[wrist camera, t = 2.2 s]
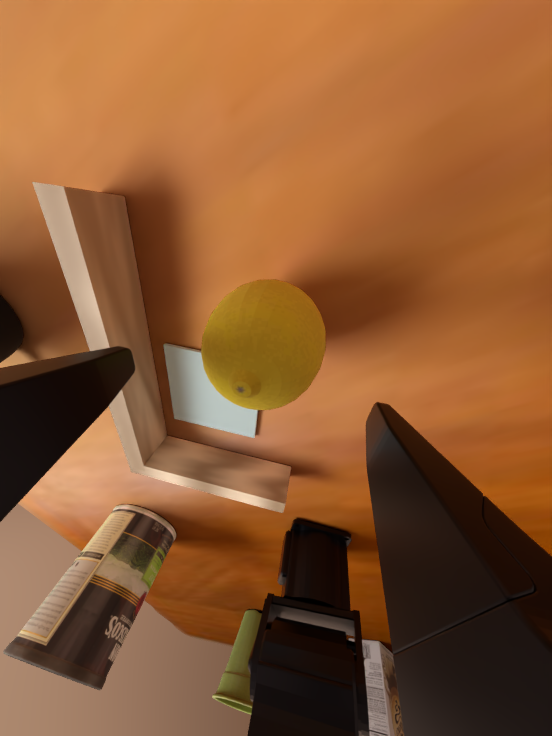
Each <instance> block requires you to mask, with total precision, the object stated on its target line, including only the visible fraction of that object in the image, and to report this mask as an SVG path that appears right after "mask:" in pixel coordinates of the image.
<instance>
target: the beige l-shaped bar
mask: <svg viewBox="0 0 552 736" xmlns="http://www.w3.org/2000/svg"><path fill="white" fill-rule="evenodd" d="M32 183H33V185H34V188H35V191H36V194H37V197H38V200H39V203H40V206H41V209H42V212H43V215H44V218H45V221H46V224H47V226H48V229H49V232H50V235H51V238H52V241H53V244H54V247H55V250H56V253H57V256H58V259H59V262H60V265H61V267H62V270H63V273H64V276H65V279H66V282H67V285H68V288H69V291H70V294H71V297H72V300H73V303H74V306H75V308H76V311H77V314H78V317H79V320H80V323H81V326H82V329H83V332H84V335H85V338H86V341H87V344H88V347H89V349H90V351H94V350H99V349H105V348H110V347H115V346H121V347H126V348H129V349H130V350H131V351H132V354H133V358H134V363H135V372H134V374H133V375H132V376H131V378H130V379H129V380H128V382H127V383H126V384H125V386H124V387H123V388H122V390H121V391H120V392H119V393H118V395H117V396H116V397H115V399H114V400H113V401H112V402H111V404H110V405H109V408H110V411H111V414H112V417H113V420H114V423H115V426H116V429H117V432H118V434H119V437H120V440H121V443H122V446H123V449H124V452H125V455H126V458H127V461H128V464H129V467H130V470H131V472H133V473H136V474H140V475H144V476H148V477H151V478H155V479H159V480H162V481H166V482H170V483H173V484H177V485H181V486H184V487H188V488H192V489H195V490H199V491H203V492H207V493H210V494H214V495H218V496H221V497H225V498H229V499H232V500H236V501H240V502H243V503H247V504H251V505H255V506H258V507H262V508H266V509H269V510H273V511H277V512H280V513H283V511H284V507H285V504H286V497H287V491H288V484H289V478H290V471H291V466H287V465H283V464H279V463H275V462H271V461H267V460H263V459H259V458H255V457H251V456H247V455H243V454H239V453H235V452H231V451H227V450H223V449H219V448H215V447H211V446H207V445H203V444H199V443H195V442H191V441H187V440H183V439H179V438H175V437H171V436H167V431H166V425H165V420H164V414H163V409H162V403H161V397H160V392H159V386H158V381H157V375H156V369H155V364H154V358H153V353H152V347H151V342H150V336H149V330H148V325H147V319H146V314H145V308H144V302H143V297H142V291H141V286H140V280H139V274H138V269H137V263H136V258H135V252H134V246H133V241H132V235H131V230H130V224H129V219H128V213H127V207H126V202H125V196H121V195H115V194H108V193H102V192H95V191H89V190H82V189H76V188H70V187H63V186H56V185H50V184H43V183H37V182H32Z"/></svg>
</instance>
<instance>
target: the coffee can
mask: <svg viewBox="0 0 552 736" xmlns="http://www.w3.org/2000/svg"><path fill="white" fill-rule="evenodd" d="M175 539H176V532H175V529H174V528H173V526H172V525H171V524H170V523H169V522H167V521H166V520H165V519H164V518H162V517H161V516H159V515H157V514H156V513H154V512H152V511H150V510H148V509H145V508H142V507H139V506H135V505H129V504H123V505H118V506H116V507H115V508H114V509H113V511H112V513H111V514H110V515H109V517H108V518H107V519H106V521H105V522H104V523H103V525H102V526H101V527H100V528H99V530H98V531H97V532H96V534H95V535H94V536H93V538H92V539H91V540H90V542H89V543H88V544H87V545H86V547H85V548H84V549H83V551H82V552H81V553H80V555H79V556H78V557H77V558H76V560H75V561H74V562H73V564H72V565H71V566H70V568H69V569H68V570H67V572H66V573H65V574H64V575H63V577H62V578H61V579H60V581H59V582H58V583H57V585H56V586H55V587H54V588H53V590H52V591H51V592H50V594H49V595H48V596H47V598H46V599H45V600H44V602H43V603H42V604H41V605H40V607H39V608H38V609H37V611H36V612H35V613H34V614H33V616H32V617H31V618H30V620H29V621H28V622H27V624H26V625H25V627H24V628H23V629H22V630H21V631H20V633H19V634H18V635H17V637H16V638H15V639H14V640H13V641H12V642H11V643H10V644H9V645H8V646H7V647H6V649H5V650H4V651H3V652H4V654H6V655H8V656H10V657H13V658H15V659H18V660H21V661H23V662H26V663H28V664H31V665H33V666H36V667H39V668H41V669H44V670H47V671H49V672H52V673H54V674H57V675H60V676H62V677H65V678H67V679H71V680H73V681H75V682H78V683H81V684H84V685H86V686H90V687H92V688H95V689H98V690H100V689H102V687H103V685H104V683H105V680H106V676H107V674H108V672H109V670H110V668H111V666H112V664H113V662H114V660H115V658H116V656H117V654H118V652H119V650H120V648H121V646H122V644H123V642H124V640H125V638H126V636H127V634H128V632H129V630H130V628H131V626H132V624H133V622H134V620H135V618H136V616H137V614H138V612H139V610H140V608H141V606H142V604H143V601H144V600H145V598H146V596H147V594H148V591H149V589H150V587H151V585H152V583H153V581H154V579H155V577H156V575H157V573H158V571H159V569H160V567H161V565H162V563H163V561H164V559H165V557H166V555H167V553H168V551H169V549H170V547H171V545H172V543H173V541H174V540H175Z"/></svg>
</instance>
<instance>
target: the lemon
mask: <svg viewBox="0 0 552 736" xmlns="http://www.w3.org/2000/svg"><path fill="white" fill-rule="evenodd" d="M325 349H326V332H325V326H324V323H323V320H322V316H321V313H320V312H319V310H318V308H317V307H316V305H315V303H314V302H313V300H312V299H311V298H310V297H309V296H308V295H307V294H306V293H305V292H303V291H302V290H301V289H299V288H297V287H296V286H294V285H292V284H290V283H287V282H283V281H279V280H257V281H253V282H250V283H247V284H244V285H242V286H240V287H238V288H237V289H235V290H234V291H232V292H231V293H229V294H228V295H227V296H225V297H224V299H223V300H222V301H221V302H220V303H219V305H218V306H217V307H216V308H215V310H214V311H213V312H212V314H211V316H210V318H209V320H208V323H207V325H206V328H205V330H204V333H203V337H202V348H201V355H202V361H203V366H204V370H205V372H206V374H207V377H208V379H209V381H210V382H211V383H212V385H213V386H214V387H215V389H216V390H217V391H218V392H219V393H220V394H221V395H222V396H223V397H224V398H225V399H227V400H229V401H230V402H232V403H234V404H236V405H238V406H241V407H243V408H247V409H253V410H271V409H275V408H279V407H282V406H284V405H286V404H288V403H290V402H292V401H294V400H296V399H297V398H298V397H299V396H300V395H301V394H302V393H303V392H305V391H306V390H307V389H308V387H309V386H310V385H311V383H312V381H313V380H314V378H315V376H316V375H317V373H318V371H319V369H320V367H321V364H322V360H323V357H324V353H325Z"/></svg>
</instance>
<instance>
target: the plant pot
mask: <svg viewBox="0 0 552 736" xmlns="http://www.w3.org/2000/svg"><path fill="white" fill-rule="evenodd" d="M261 615H262V613H259V612H258V611H256V610H253V609H252V610H248V611H246V612H245V614H244V617H243V620H242V623H241V626H240V629H239V632H238V635H237V638H236V641H235V644H234V647H233V650H232V653H231V656H230V658H229V662H228V665H227V667H226V670H225V672H224V673H223V676H222V678H221V681H220V684H219V687H218V690H217V692H216V694H214V695H213V696H212V697H213V698H214V699H215V700H217V701H219V702H221V703H223V704H226V705H228V706H230V707H232V708H235V709H237V710H240V711H243V712H246V713H248V714H251V713H252V705H253V702H252V701H251V699H250V672H249V669H248V661H249V657H250V654H251V651H252V648H253V645H254V642H255V639H256V636H257V632H258V628H259V624H260V620H261Z"/></svg>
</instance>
